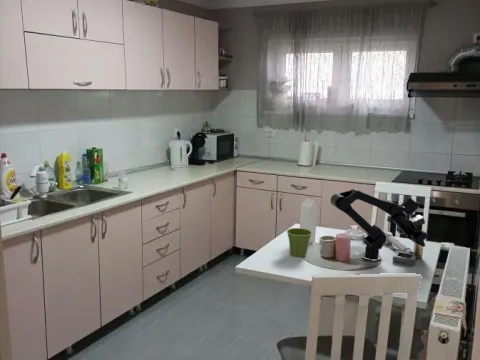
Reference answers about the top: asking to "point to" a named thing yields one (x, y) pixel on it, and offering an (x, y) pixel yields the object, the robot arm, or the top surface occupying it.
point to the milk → (309, 217)
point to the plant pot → (298, 241)
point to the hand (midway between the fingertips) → (421, 244)
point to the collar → (404, 258)
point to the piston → (418, 251)
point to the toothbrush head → (396, 243)
